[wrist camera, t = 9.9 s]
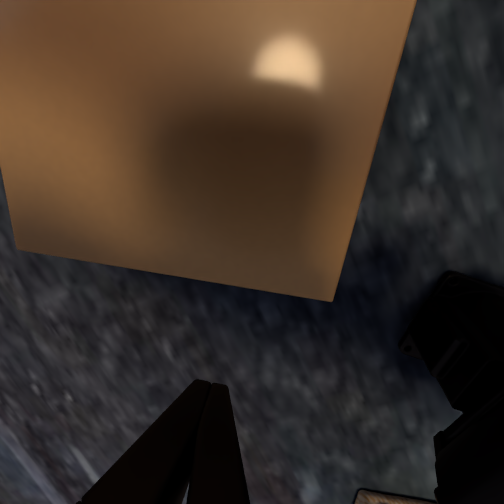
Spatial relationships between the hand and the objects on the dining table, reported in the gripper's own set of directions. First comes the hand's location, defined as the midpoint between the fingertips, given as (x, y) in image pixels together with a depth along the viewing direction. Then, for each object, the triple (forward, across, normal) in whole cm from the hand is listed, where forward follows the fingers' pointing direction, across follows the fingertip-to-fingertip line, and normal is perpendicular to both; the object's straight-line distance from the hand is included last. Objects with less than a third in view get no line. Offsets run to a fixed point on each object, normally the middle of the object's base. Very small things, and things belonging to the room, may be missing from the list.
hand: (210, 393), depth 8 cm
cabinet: (+13, +3, -8) cm, 15 cm away
